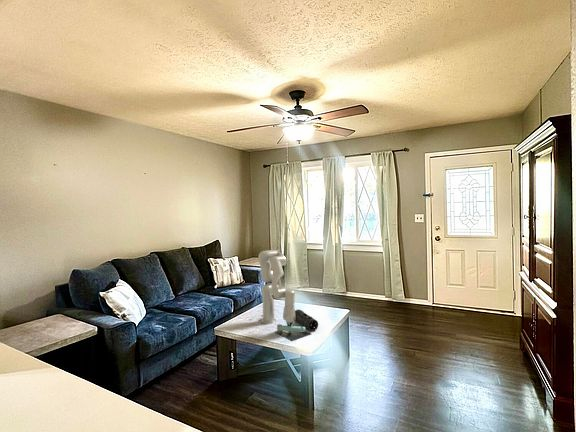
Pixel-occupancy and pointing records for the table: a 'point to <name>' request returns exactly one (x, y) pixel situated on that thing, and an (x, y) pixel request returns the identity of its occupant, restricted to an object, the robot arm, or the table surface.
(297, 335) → the dark grey mat
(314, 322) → the muzzle brake
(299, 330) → the swing arm
